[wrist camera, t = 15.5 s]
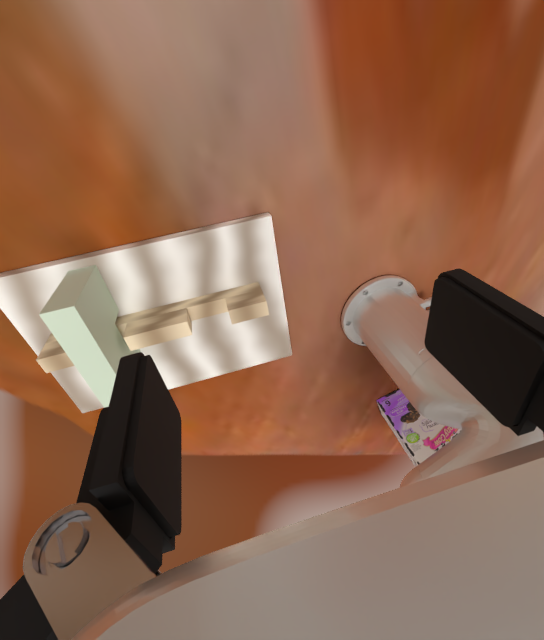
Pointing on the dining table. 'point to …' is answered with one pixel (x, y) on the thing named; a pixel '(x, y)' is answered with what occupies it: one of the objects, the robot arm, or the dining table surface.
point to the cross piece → (88, 328)
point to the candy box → (414, 427)
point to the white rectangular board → (170, 303)
